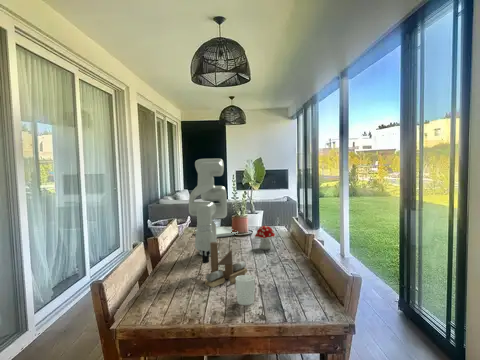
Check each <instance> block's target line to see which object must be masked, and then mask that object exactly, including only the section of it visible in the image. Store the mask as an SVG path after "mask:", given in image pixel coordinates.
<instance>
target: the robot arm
mask: <svg viewBox="0 0 480 360" xmlns="http://www.w3.org/2000/svg"><path fill="white" fill-rule="evenodd" d="M194 167H195V170H196V173H197V185H196V186H195V188H194V189H192V191H191V193H190V194H189V197H188V198H189V199H188V214H189V215H190V216H192V217H196V229H195V230H196V232H195V239H194V245H195V249H196V250H197V251H198V252H199V255H201V257H202V264H208V263H210V257H211V249H210V243H211V242H217V243H218V241H217V236H216V227H217V224H216V222H215V221H214V219H225V218H226V217H227V216H228V201H227V200H228V198H227V197H228V196H227V189H226V187H225V186H223V185H215V177H222V176H223V175H224V171H225V164H224V160H223V159H222V158H199V159H197V160H195V162H194ZM199 196H200V198H201V200H202V201H195V200H196V199H197V197H199ZM217 202H218V203H217ZM219 254H220V250H219V249H218V255H219Z"/></svg>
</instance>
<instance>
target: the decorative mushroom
mask: <svg viewBox="0 0 480 360" xmlns="http://www.w3.org/2000/svg"><path fill="white" fill-rule="evenodd" d="M254 238H256V239H257V240H258V239H259V240H260V242H259V246H258V247H259V249H261V250H263V251H265V250H266V251H267V250H270V249H271V248H272V242H271V239H272V240H273V239H275V238H276V234H275V233H274V230H273V228H272V227H271V226H268V225H262V226H260V227H259V228H258V229H257V231H256V234H255V235H254Z"/></svg>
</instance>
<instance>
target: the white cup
mask: <svg viewBox="0 0 480 360" xmlns="http://www.w3.org/2000/svg"><path fill="white" fill-rule="evenodd" d="M255 279H256V278H255V276H254V275H249V274H245V275H240V276H237V277H236V278H235V280H236V283H235V290H236V291H235V293H236V302H237V304H239V305H241V306H250V305H252V304H254V302H255V289H256V288H255V287H256V286H255V281H256V280H255Z"/></svg>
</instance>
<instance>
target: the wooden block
mask: <svg viewBox="0 0 480 360" xmlns="http://www.w3.org/2000/svg"><path fill="white" fill-rule="evenodd" d="M218 243H219V242H218V241H217V242H211V243H210V249H211V256H210V273H213V272H215V271H218V270H219V266H224V270H223V269H221V270H222V272H223V277H222V278H224V280H230V275H232V274H233V264H234V263H233V249H230V250H229V251H228V252H227V253H226V255H224V256H223V257H222V258H221V260H220V261H219V254H218V250H219V249H218V248H219V246H218Z"/></svg>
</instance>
